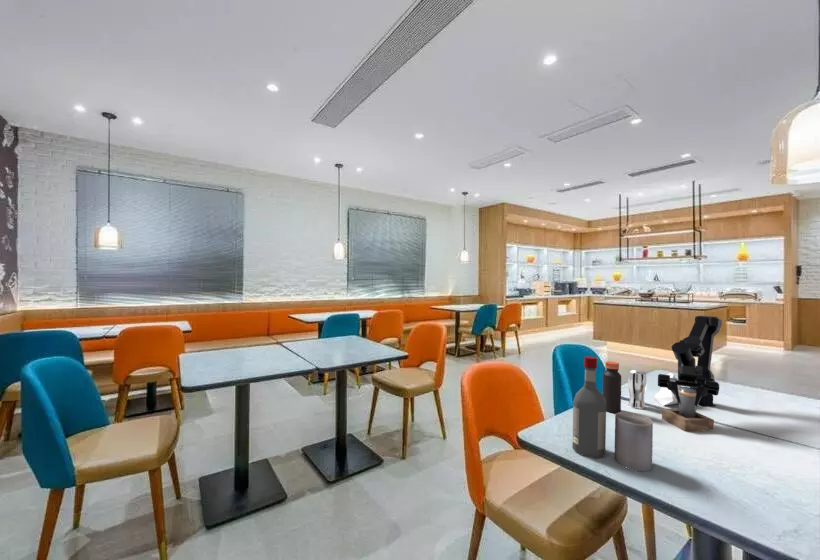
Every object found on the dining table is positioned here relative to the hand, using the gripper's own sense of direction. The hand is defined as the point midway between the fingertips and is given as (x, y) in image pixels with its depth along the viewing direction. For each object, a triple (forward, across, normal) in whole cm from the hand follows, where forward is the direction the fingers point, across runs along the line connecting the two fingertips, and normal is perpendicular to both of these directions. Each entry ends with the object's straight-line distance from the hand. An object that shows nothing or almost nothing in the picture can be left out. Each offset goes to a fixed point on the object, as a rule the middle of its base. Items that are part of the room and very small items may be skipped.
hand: (687, 404), depth 135 cm
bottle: (+6, -25, +6) cm, 26 cm away
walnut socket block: (+5, 0, +7) cm, 8 cm away
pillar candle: (+37, -15, -25) cm, 47 cm away
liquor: (+37, -27, -25) cm, 52 cm away
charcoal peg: (+4, 0, +6) cm, 7 cm away
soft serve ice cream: (-12, -5, +24) cm, 28 cm away
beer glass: (-3, -17, +15) cm, 22 cm away
